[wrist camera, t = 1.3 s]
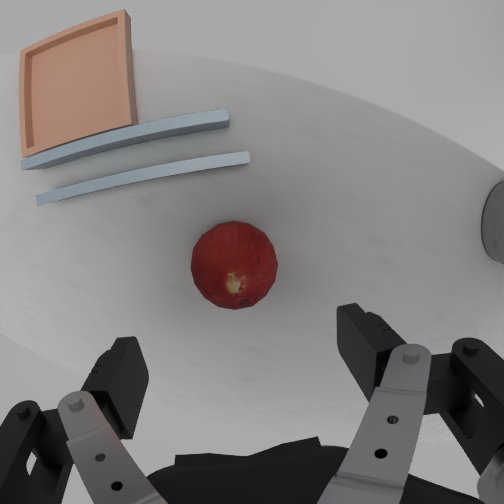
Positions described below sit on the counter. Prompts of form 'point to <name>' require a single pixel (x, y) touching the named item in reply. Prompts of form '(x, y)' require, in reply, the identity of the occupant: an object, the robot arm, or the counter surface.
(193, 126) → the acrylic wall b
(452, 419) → the robot arm
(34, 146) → the terracotta dish
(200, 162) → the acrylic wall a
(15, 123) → the counter surface
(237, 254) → the pomegranate
